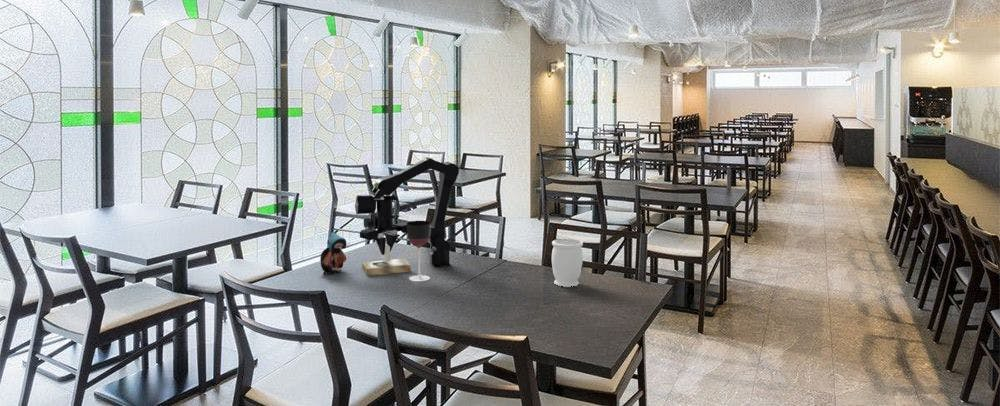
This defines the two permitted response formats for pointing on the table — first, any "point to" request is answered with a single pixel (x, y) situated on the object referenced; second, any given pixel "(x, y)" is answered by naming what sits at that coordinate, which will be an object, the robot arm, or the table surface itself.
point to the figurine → (333, 255)
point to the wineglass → (418, 241)
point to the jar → (567, 261)
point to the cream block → (385, 255)
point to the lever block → (386, 267)
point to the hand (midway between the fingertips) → (385, 254)
